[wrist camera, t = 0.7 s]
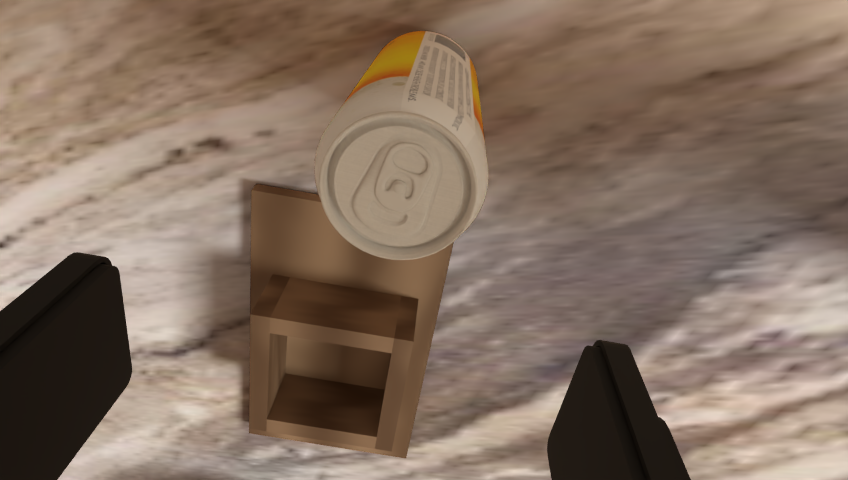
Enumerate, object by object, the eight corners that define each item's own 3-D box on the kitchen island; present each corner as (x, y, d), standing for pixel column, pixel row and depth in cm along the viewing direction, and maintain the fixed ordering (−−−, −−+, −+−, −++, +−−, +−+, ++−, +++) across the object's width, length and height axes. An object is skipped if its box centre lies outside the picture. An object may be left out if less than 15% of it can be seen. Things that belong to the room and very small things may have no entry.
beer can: (356, 112, 32) (285, 232, 19) (393, 9, 29) (340, 67, 16) (450, 152, 33) (444, 293, 20) (495, 56, 30) (523, 147, 17)
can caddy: (457, 218, 35) (456, 263, 30) (406, 448, 46) (400, 508, 41) (256, 183, 35) (224, 223, 30) (253, 423, 45) (228, 480, 41)
